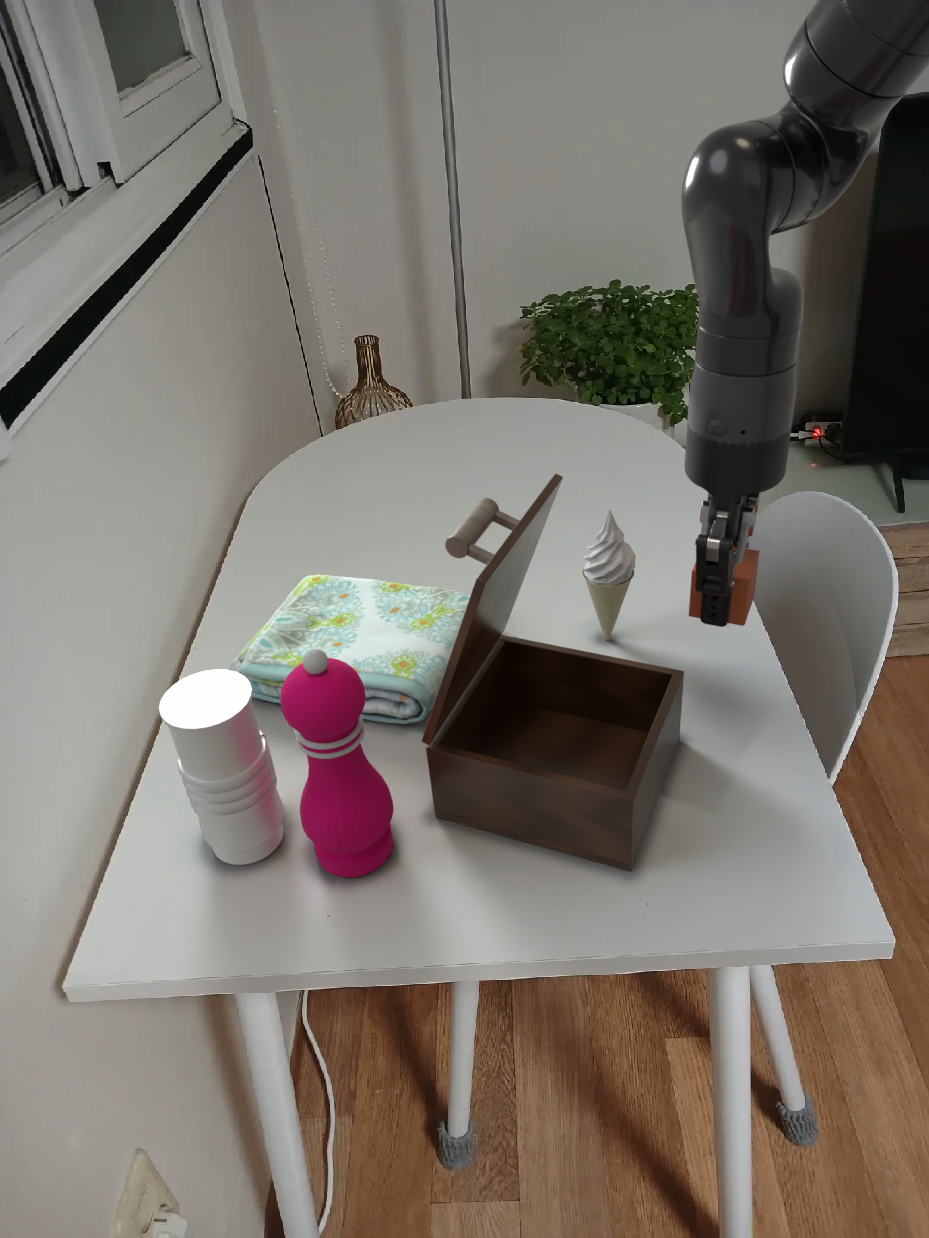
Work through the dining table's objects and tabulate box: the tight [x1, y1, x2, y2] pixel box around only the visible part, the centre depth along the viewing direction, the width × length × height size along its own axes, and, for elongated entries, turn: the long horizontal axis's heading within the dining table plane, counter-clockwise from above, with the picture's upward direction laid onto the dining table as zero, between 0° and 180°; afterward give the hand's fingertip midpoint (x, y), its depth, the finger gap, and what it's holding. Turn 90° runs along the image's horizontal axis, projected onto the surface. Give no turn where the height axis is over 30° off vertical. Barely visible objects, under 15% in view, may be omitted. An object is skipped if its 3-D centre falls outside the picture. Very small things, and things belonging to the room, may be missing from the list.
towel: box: [229, 574, 471, 725], centre depth 95 cm, size 18×21×5 cm
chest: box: [425, 634, 685, 872], centre depth 79 cm, size 17×16×8 cm
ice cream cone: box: [581, 509, 637, 641], centre depth 92 cm, size 5×5×15 cm
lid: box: [421, 473, 564, 746], centre depth 74 cm, size 17×16×5 cm
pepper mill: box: [280, 649, 394, 878], centre depth 71 cm, size 7×7×20 cm
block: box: [688, 547, 760, 627], centre depth 79 cm, size 5×5×5 cm
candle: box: [158, 668, 285, 866], centre depth 74 cm, size 7×7×15 cm
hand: (720, 604), depth 81 cm, fingers closed on block, 4 cm apart
